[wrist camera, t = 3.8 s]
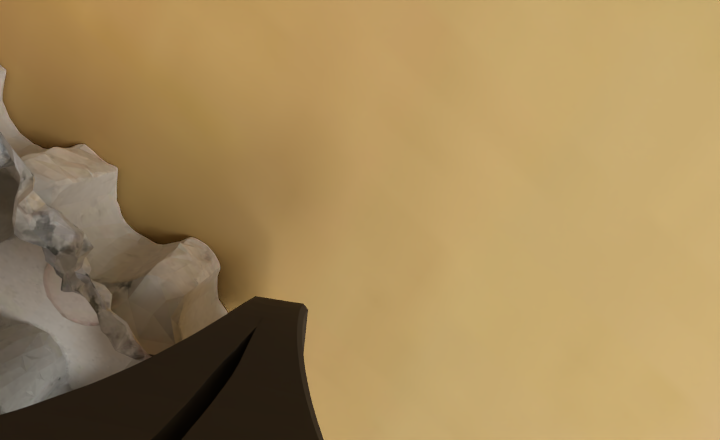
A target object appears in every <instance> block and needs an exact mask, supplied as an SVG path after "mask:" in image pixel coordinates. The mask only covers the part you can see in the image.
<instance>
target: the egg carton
mask: <svg viewBox="0 0 720 440" xmlns="http://www.w3.org/2000/svg"><path fill="white" fill-rule="evenodd" d="M5 76H6V69H5V68H3V67H2V66H1V65H0V415H1V414H5V413H8V412H11V411H15V410H18V409H21V408H24V407H27V406H30V405H33V404H36V403H39V402H42V401H44V400H47V399H50V398H53V397H56V396H58V395H61V394H64V393H67V392H70V391H72V390H75V389H78V388H81V387H84V386H86V385H89V384H91V383H94V382H96V381H99V380H101V379H104V378H106V377H108V376H111V375H113V374H115V373H118V372H120V371H122V370H125V369H127V368H129V367H131V366H133V365H136V364H138V363H140V362H142V361H144V360H146V359H148V358H150V357H152V356H154V355H156V354H158V353H160V352H162V351H163V350H165V349H167V348H169V347H171V346H173V345H175V344H176V343H178V342H180V341H182V340H184V339H186V338H188V337H189V336H191V335H193V334H195V333H197V332H198V331H200V330H201V329H203V328H205V327H206V326H208V325H210V324H211V323H213V322H215V321H216V320H218V319H220V318H221V317H223V316H224V315H226V314H228V312H227V311H226V309H225V308H224V306H223V305H222V304H221V302H220V300H219V298H218V291H217V283H218V274H219V271H220V268H221V267H220V263H219V261H218V259H217V257H216V255H215V254H214V253H213V252H212V250H211V249H210V248H209V246H208V245H206V244H205V243H203V242H202V241H200V240H198V239H196V238H193V237H189V238H186V239H184V240H182V241H180V242H174V243H169V244H164V245H162V244H156V243H155V242H153V241H151V240H149V239H148V238H146V237H144V236H142V235H141V234H139V233H137V232H135V231H134V230H133V229H132V228H131V227H130V226H129V225H128V224H127V223H126V222H125V220H124V218H123V216H122V215H121V210H120V207H119V205H118V202H117V176H118V168H117V167H116V166H114V165H111V164H109V163H107V162H105V161H104V160H103V159H101V158H100V157H99V156H98V155H97V154H96V153H95V152H94V151H93V150H91V149H90V148H89V147H88V146H86V145H85V144H77V145H74V146H72V147H70V148H61V147H52V148H50V149H45V148H42V147H40V146H39V145H36V144H33V143H32V142H31V141H29V140H28V139H27V138H26V137H24V136H23V135H22V134H20V132H19V131H18V129H17V128H16V126H15V125H14V124H13V122H12V121H11V119H10V118H9V115H8V113H7V110H6V107H5V105H4V103H3V100H2V99H3V87H4V81H5Z"/></svg>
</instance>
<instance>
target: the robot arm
mask: <svg viewBox="0 0 720 440" xmlns="http://www.w3.org/2000/svg"><path fill="white" fill-rule="evenodd" d="M307 313H308V309H307V308H306V306H305V305H304V304H301V303H294V302H288V301H282V300H275V299H269V298H263V297H256V296H255V297H254V298H252V299H250V300H248V301H247V302H245V303H243V304H242V305H240V306H239V307H237V308H236V309H234V310H232V311H231V312H229V313H228V314H226V315H224V316H223V317H221V318H220V319H218V320H216V321H215V322H213V323H211V324H210V325H208V326H206V327H205V328H203V329H201V330H200V331H198V332H197V333H195V334H193V335H191V336H189V337H188V338H186V339H184V340H182V341H180V342H178V343H176V344H175V345H173V346H171V347H169V348H167V349H165V350H163V351H162V352H160V353H158V354H156V355H154V356H152V357H150V358H148V359H146V360H144V361H142V362H140V363H138V364H136V365H133V366H131V367H129V368H127V369H125V370H122V371H120V372H118V373H115V374H113V375H111V376H108V377H106V378H104V379H101V380H99V381H96V382H94V383H91V384H89V385H86V386H84V387H81V388H78V389H75V390H72V391H70V392H67V393H64V394H61V395H58V396H56V397H53V398H50V399H47V400H44V401H42V402H39V403H36V404H33V405H30V406H27V407H24V408H21V409H18V410H15V411H11V412H8V413H5V414H1V415H0V440H324V439H323V437H322V434H321V431H320V428H319V425H318V422H317V418H316V415H315V412H314V408H313V405H312V401H311V397H310V392H309V388H308V383H307V377H306V372H305V365H304V356H303V352H304V342H305V333H306V323H307Z"/></svg>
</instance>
